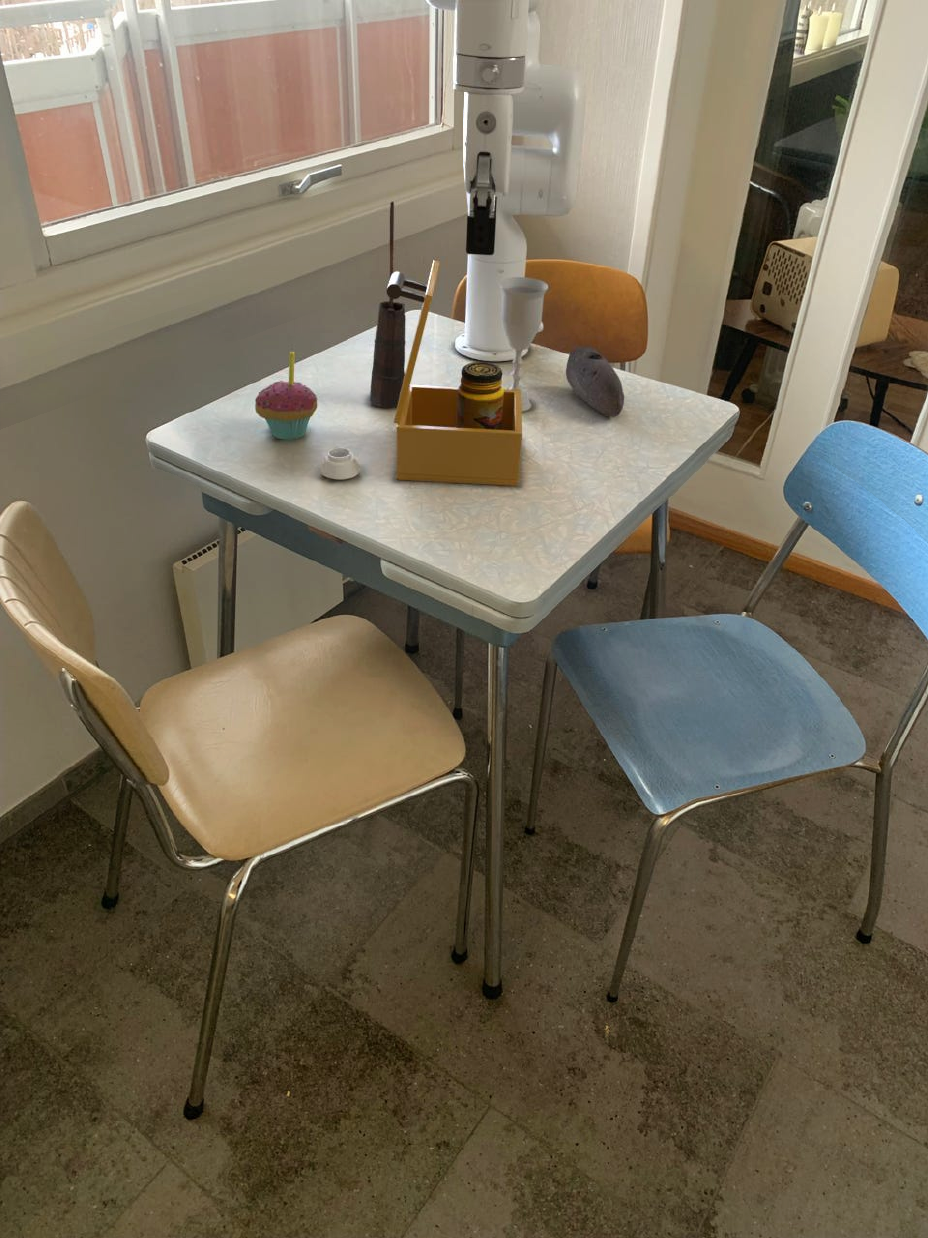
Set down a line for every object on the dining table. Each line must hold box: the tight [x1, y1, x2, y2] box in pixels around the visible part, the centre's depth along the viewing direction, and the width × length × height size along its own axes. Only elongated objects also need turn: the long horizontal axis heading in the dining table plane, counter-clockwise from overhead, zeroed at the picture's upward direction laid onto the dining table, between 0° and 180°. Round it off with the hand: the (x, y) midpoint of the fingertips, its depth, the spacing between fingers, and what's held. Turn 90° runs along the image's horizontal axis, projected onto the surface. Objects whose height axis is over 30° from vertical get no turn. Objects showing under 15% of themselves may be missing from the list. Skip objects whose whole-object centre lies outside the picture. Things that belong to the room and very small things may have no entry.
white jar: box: [320, 447, 360, 480], centre depth 119 cm, size 5×3×5 cm
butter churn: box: [369, 201, 407, 409], centre depth 130 cm, size 9×10×28 cm
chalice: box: [500, 276, 549, 412], centre depth 134 cm, size 7×7×18 cm
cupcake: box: [254, 345, 318, 441], centre depth 125 cm, size 9×8×12 cm
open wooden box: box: [396, 383, 523, 487], centre depth 123 cm, size 16×14×7 cm
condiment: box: [456, 361, 504, 430], centre depth 121 cm, size 7×8×12 cm
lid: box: [386, 259, 441, 425], centre depth 115 cm, size 17×14×5 cm
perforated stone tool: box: [565, 346, 625, 418], centre depth 139 cm, size 15×5×7 cm, turn 18°
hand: (480, 242), depth 108 cm, fingers open, 9 cm apart
